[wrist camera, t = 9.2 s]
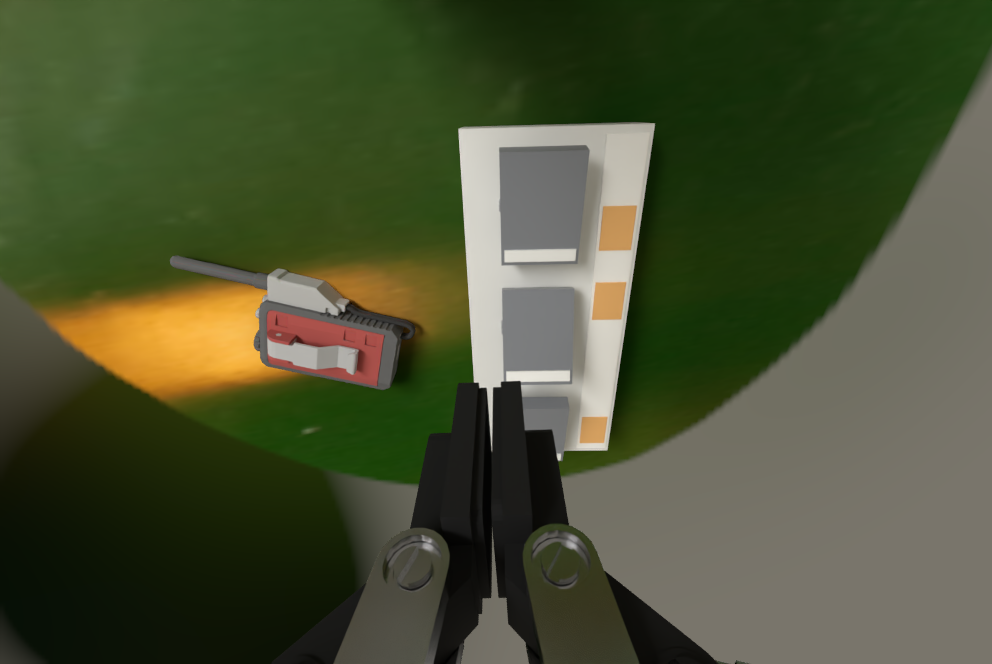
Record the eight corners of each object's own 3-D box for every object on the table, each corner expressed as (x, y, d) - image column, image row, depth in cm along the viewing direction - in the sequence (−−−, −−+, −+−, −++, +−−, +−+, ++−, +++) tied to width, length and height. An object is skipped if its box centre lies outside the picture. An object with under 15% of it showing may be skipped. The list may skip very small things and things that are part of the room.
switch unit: (463, 126, 28) (456, 129, 23) (635, 122, 28) (663, 123, 23) (480, 422, 41) (477, 462, 36) (598, 421, 41) (610, 461, 36)
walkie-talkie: (422, 299, 35) (181, 242, 33) (412, 322, 31) (138, 260, 29) (407, 379, 39) (192, 333, 37) (397, 408, 35) (156, 359, 33)
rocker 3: (504, 397, 32) (504, 410, 31) (567, 396, 32) (569, 409, 31) (505, 449, 36) (505, 462, 35) (560, 449, 36) (562, 462, 35)
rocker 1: (499, 147, 23) (499, 153, 22) (586, 145, 23) (590, 150, 22) (501, 257, 27) (501, 266, 26) (574, 255, 27) (577, 265, 26)
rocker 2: (502, 287, 29) (502, 290, 28) (571, 286, 29) (574, 289, 27) (503, 379, 31) (503, 386, 29) (569, 378, 30) (572, 385, 29)
